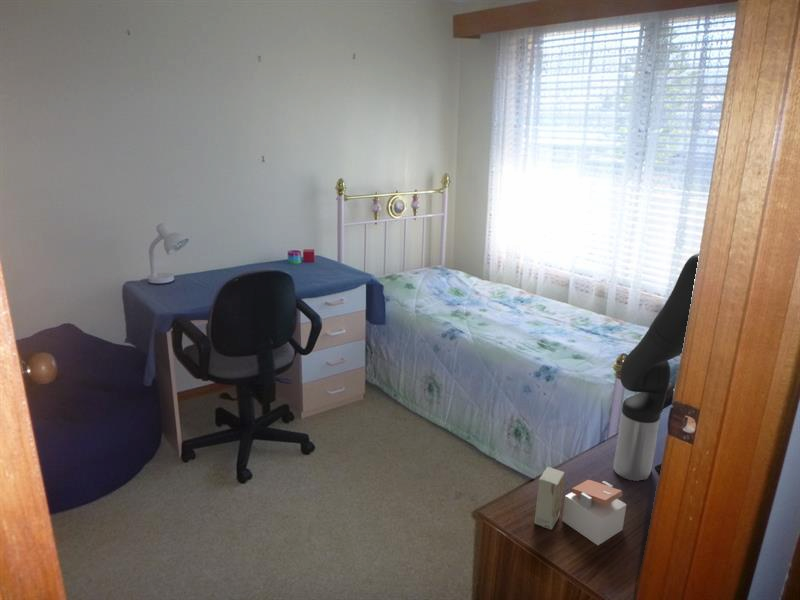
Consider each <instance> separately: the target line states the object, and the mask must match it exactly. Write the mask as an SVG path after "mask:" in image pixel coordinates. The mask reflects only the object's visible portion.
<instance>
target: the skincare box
mask: <svg viewBox="0 0 800 600" xmlns="http://www.w3.org/2000/svg"><path fill="white" fill-rule="evenodd" d="M564 480H565V471H562V470H559V469H556V468H554V467H550V466H546V468H545V469H544V471H543V472H542V474H541V475H540V477H539V479H538V486H537V487H538V488H537V494H536V495H537V497H536V504H535V505H536V506H535V513H534V524H535V525H538V526H541V527H542V528H544V529H545V528H546V529H548V530H553V528H554V527H555V526H556V524H557V522H558V520H559V517H560V512H561V506H562V505H561V504H562V497H563V489H564Z"/></svg>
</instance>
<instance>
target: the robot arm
mask: <svg viewBox="0 0 800 600" xmlns="http://www.w3.org/2000/svg"><path fill="white" fill-rule="evenodd" d="M699 253H700V252H697V253H696V254H695V253H694V254H693V255H692V256H690V257H689V258H688V259H687V260H686V262H685V264H684V265H683V267H682V268H681V271H680V273H679V276H678V278H677V280H676V281H675V282H676V283H675V284H674V287H673V289H672V290H671V293H670V294H669V296H668V298H667V300H666V301H665V303H664V304H663V307H661V310H659V312H658V314H657V315H656V317H655V318H654V319H653V321H652V322H651V325H650V326H649V328H648V330H647V331H646V333H645V334H644V335H643V337H642V339H641V340H640V341H639V342H638V343H637V345H636V346H635V347H634V348H633V349H632V350H631V351H630V352H629V353H628V354H627V355H626V357H625V359H624V360H623V362H622V364H621V366H620V370H619V371H620V372H619V380H620V383H621V385H622V387H623V388H624V389H625V390H627V391H629V392H632V393H633V392H635V393H637V394H635V395H632V396H629V397H627V398H625V400H624V401H623V402H622V407H621V414H620V420H619V428H618V434H617V441H616V447H615V453H614V459H613V465H612V466H613V467H612V468H613V471H614V472H615V473H616V474H617V475H618V476H620V477H621V478H623V479H625V480H626V479H627V480H629V481H632V480H633V481H634V482H640V481H639V480H644V479H645V478H647V477H648V476H649V475H650V476H651V472H652V471H651V469H652V470H653V464H654V459H655V453H656V447H657V442H658V441H657V437H658V431H659V425H660V421H661V414H662V412H663V411H664V408H665V407H664V406H665V402H666V398H667V394H668V389H669V385H670V381H671V380H670V379H671V366H670V364H669V362H668V361H670V360H672V359H674V358H676V357H679V356H681V355H682V354H683V353H682V348H683V343H684V337H685V332H686V326H687V321H688V315H689V309H690V304H691V297H692V291H693V285H694V279H695V274H696V268H697V262H698V256H699ZM681 353H682V354H681ZM661 465H662V463H660V464H657V465H655V466H654V471H655V472H656V473H657V476H658V477H660V476H659V475H660V470H661ZM644 481H645V480H644Z"/></svg>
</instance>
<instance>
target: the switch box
mask: <svg viewBox="0 0 800 600" xmlns="http://www.w3.org/2000/svg"><path fill="white" fill-rule="evenodd" d="M601 484H604V485H607V486H610V487H613V488H614V486H613V485H612V484H611V483H608V482H607V481H605V480H603V481H601ZM563 502H564V504H563V512H562V520H561V521H562V522H563V523H565V524H566V525H568V526H569V527H571V528H572V529H573V530H575V531H577V533H579V534H580V535H582V536H584V537H585V538H587V540H589V541H591V542H592V543H594V544H595V545H596V546H600V545H601V544H603V543H605V542H606V541H608V540H609V539H611V538H612V537H613V536H615V535H616V534H618V533H620V532H621V531H623V528H624V523H625V516H626V515H625V514H626V509H627V504H626V503H625V502H624V501H621V500H620V499H619V498H617V499H616V500H614V501H612V502H611V503H609V504H607V505H603V504H600V503H598V502H593V503H591V502H592V498H591V497H590V496H588V495H587V494H585V493H584V492H583V493H581V496H579V495H576V494H573V493H572V491H571V492H569V493H568V494H566V495H564V501H563Z"/></svg>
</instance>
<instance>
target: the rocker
mask: <svg viewBox="0 0 800 600" xmlns="http://www.w3.org/2000/svg"><path fill="white" fill-rule="evenodd" d="M571 490H572V491H571V492H572V493H573V494H576V495H579V496H581V493H583V492H584V493H585V494H587V495H588V496H590V497H591V498H592V502H591V503H593V502H598V503H600V504H603V505H607V504H609V503H611V502H612V501H614V500H616V499H619V498H621V497H622V496H623V491H622V490H621V489H618V488H615V487H614V486H613V487H610V486H607V485H604V484H602V482H601V483H600V482H598V481H594V480H591V479H587V480H584V481H583V482H581V483H579V484H577V485H576V486H574V487H572V488H571Z"/></svg>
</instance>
